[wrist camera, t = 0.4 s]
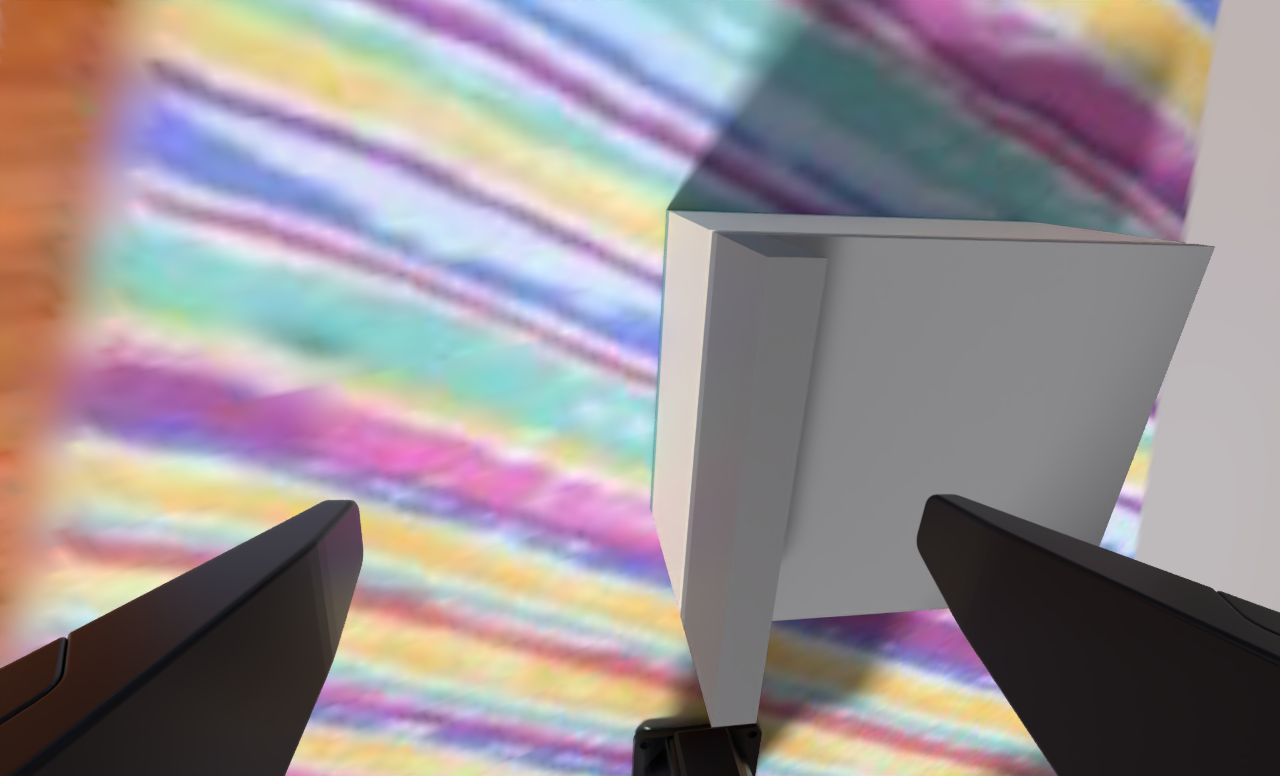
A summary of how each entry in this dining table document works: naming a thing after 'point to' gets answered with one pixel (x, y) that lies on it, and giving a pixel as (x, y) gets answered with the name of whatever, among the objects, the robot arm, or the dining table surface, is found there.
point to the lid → (903, 415)
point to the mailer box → (687, 319)
